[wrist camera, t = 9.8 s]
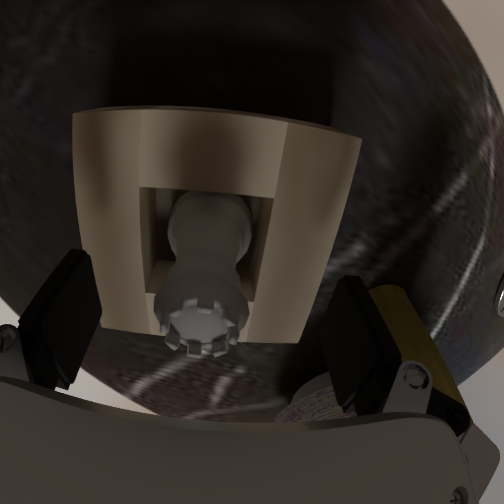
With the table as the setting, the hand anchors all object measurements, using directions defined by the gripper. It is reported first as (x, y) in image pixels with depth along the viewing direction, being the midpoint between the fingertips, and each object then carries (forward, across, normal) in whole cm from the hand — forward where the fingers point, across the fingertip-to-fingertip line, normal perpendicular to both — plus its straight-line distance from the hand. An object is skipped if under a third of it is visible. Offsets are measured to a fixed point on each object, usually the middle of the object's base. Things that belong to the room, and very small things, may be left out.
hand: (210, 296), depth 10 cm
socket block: (+7, +1, 0) cm, 7 cm away
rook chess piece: (+6, 0, 0) cm, 6 cm away
